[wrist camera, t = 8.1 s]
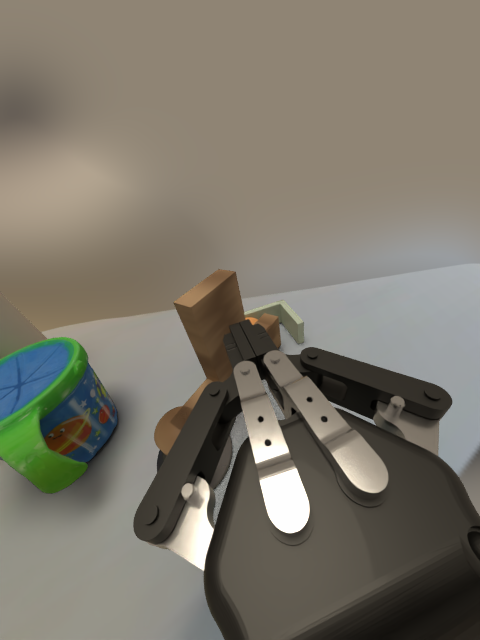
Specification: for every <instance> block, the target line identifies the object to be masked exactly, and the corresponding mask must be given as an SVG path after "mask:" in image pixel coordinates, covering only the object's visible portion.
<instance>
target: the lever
mask: <svg viewBox="0 0 480 640" xmlns="http://www.w3.org/2000/svg"><path fill="white" fill-rule="evenodd" d="M174 305H175V307H176V310H177V312H178V314H179V316H180V319H181V321H182V323H183V325H184V328H185V330H186V332H187V334H188V337H189V339H190V341H191V343H192V346H193V348H194V350H195V352H196V355H197V357H198V359H199V361H200V364H201V366H202V368H203V370H204V373H205V375H206V377H207V379H206V380H205V381H204V382H203V384H202V385H201V386H200V387H199V388H198V389H197V391H196V392H195V393H194V394H193V395H192V396H191V397H190V399H189V400H188V401H187V402H186V403H185V404H184V406H180V407H176V408H174V409H172V410H170V411H168V412H167V413H166V414H165V415H164V416H163V417H162V418H161V419H160V421H159V422H158V424H157V426H156V429H155V433H154V439H155V443H156V445H157V447H158V448H159V449H160V450H161V451H162V452H163V453H164V454H165V455H166V456H167V455H168V453H169V451H170V449H171V448H172V446H173V444H174V442H175V440H176V439H177V437H178V435H179V433H180V431H181V430H182V428H183V426H184V424H185V422H186V421H187V419H188V417H189V415H190V413H191V412H192V410H193V408H194V406H195V404H196V403H197V401H198V399H199V397H200V395H201V394H202V392H203V390H204V388H205V387H206V386H207V385H208V384H210V383H211V382H215V381H219V382H224V381H225V380H227V379H228V378H229V377H230V375H231V374H232V370H233V369H232V366H231V363H230V361H229V358H228V355H227V352H226V349H225V346H224V342H223V338H224V335H225V334H228V333H230V329H229V325H232V324H235V323H239V322H241V321H244V320H246V319H245V314H244V310H243V305H242V300H241V296H240V291H239V286H238V281H237V276H236V272H234V271H227V270H220V269H219V270H217V271H215V272H214V273H213V274H211V275H210V276H209V277H207V278H206V279H205V280H203V281H202V282H200V283H199V284H198V285H196V286H195V287H194V288H192V289H191V290H190V291H188V292H187V293H185V294H184V295H183V296H181V297H180V298H179V299H177V300H176V301H174ZM257 323H258V324H260V325H262V326H263V327H264V328H265V330H266V332H267V333H268V334H269V336H270V338H271V339H272V341H273V342H274V344H275V345H276V347H277V348H279V347H280V345H281V340H280V329H279V318H278V316H274V315H270V314H266V313H264V314H263V315H262V316H261V317H260V318H259V320H258V321H256V322H255V324H257Z"/></svg>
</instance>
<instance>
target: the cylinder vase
mask: <svg viewBox="0 0 480 640" xmlns="http://www.w3.org/2000/svg"><path fill="white" fill-rule="evenodd" d="M43 340H47V338H46V337H45V336H44V335H43V334H42V333H41V332H40V331H39V330H38V329H37V328H36V327H35V326H34V325H33V324H32V323H31V322H30V321H29V320H28V319H27V318H26V317H25V316H24V315H23V314H22V313H21V312H20V311H19V310H18V309H17V308H16V307H15V306H14V305H13V304H12V303H11V302H10V301H9V300H8V299H7V298H6V297H5V296H4V295H3V294H2V293H1V292H0V359H2V358H4V357H6V356H7V355H9V354H11V353H13V352H15V351H17V350H19V349H21V348H24V347H26V346H28V345H31V344H34V343H37V342H40V341H43Z"/></svg>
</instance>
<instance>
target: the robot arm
mask: <svg viewBox="0 0 480 640" xmlns="http://www.w3.org/2000/svg"><path fill="white" fill-rule="evenodd" d="M229 329H230V333H228V334H225V335H224V338H223V342H224V346H225V349H226V352H227V355H228V358H229V361H230V363H231V366H232V369H233V370H232V374H231V375H230V377H229V378H228V379H227V380H225V381H224V382H219V381H215V382H211V383H210V384H208V385H207V386H206V387H205V388H204V390H203V392H202V394H201V395H200V397H199V399H198V401H197V403H196V404H195V406H194V408H193V410H192V412H191V413H190V415H189V417H188V419H187V421H186V422H185V424H184V426H183V428H182V430H181V431H180V433H179V435H178V437H177V439H176V440H175V442H174V444H173V446H172V448H171V449H170V451H169V453H168V455H167V457H166V458H165V460H164V462H163V464H162V466H161V467H160V469H159V471H158V473H157V475H156V476H155V478H154V480H153V482H152V484H151V485H150V487H149V489H148V491H147V493H146V494H145V496H144V498H143V500H142V502H141V503H140V505H139V507H138V509H137V511H136V514H135V517H134V532H135V534H136V536H137V537H138V538H139V539H140V540H143V541H146V542H147V543H149V544H150V545H153V546H156V547H159V548H162V549H169V550H172V551H173V552H175V553H177V554H178V555H180V556H181V557H183V558H185V559H186V560H188V561H189V562H191V563H192V564H194V565H196V566H197V567H199V568H200V569H202V570H204V589H205V595H206V600H207V603H208V607H209V609H210V612H211V614H212V616H213V618H214V620H215V621H216V623H217V625H218V627H219V629H220V631H221V633H222V635H223V637H224V639H225V640H480V516H479V514H478V513H477V511H476V510H475V508H474V506H473V504H472V503H471V500H470V498H469V496H468V494H467V492H466V489H465V487H464V485H463V484H462V482H461V480H460V478H459V477H458V476H457V474H456V473H455V472H454V471H453V469H452V468H451V467H450V466H449V465H448V464H447V463H446V462H444V461H443V460H442V459H441V458H440V457H438V443H439V421H440V420H441V418H442V417H443V416H444V414H445V413H446V412H447V411H448V409H449V408H450V407H451V405H452V399H451V396H450V395H449V394H448V393H447V392H446V391H445V390H444V389H443V388H441V387H439V386H437V385H435V384H432V383H429V382H425V381H422V380H419V379H416V378H412V377H409V376H406V375H403V374H399V373H396V372H393V371H390V370H386V369H383V368H380V367H377V366H373V365H370V364H367V363H364V362H360V361H357V360H354V359H351V358H347V357H344V356H341V355H338V354H334V353H331V352H328V351H325V350H321V349H318V348H314V347H309V348H305V349H304V350H302V352H301V354H300V355H286V354H284V353H283V352H281V351H279V350H278V348H277V347H276V345H275V344H274V342H273V341H272V339H271V338H270V336H269V334H268V333H267V332H266V330H265V328H264V327H263V326H262V325H260V324H258V323H257V324H254V325H252V323H251V322H250V320H249V319H247V320H244V321H241V322H239V323H235V324H232V325H229ZM260 378H261V379H260ZM264 379H266V381H267V383H268V388H269V390H270V392H271V394H272V395H273V397H274V399H275V400H276V402H277V404H278V405H279V407H280V409H281V410H282V412H283V414H284V416H285V419H286V420H278V421H277V418H276V415H275V413H274V410H273V407H272V405H271V402H270V399H269V397H268V394H267V393H266V392H265V389H264V387H263V384H262V381H261V380H264ZM329 401H330V402H333V403H335V404H337V405H340V406H342V407H344V408H347V409H349V410H351V411H354V412H356V413H358V414H361V415H363V416H365V417H368V418H370V419H372V420H374V422H375V424H376V425H374V424H371V423H369V422H367V421H365V420H363V419H361V418H359V417H356V416H354V415H352V414H350V413H348V412H346V411H344V410H341V409H338V408H335V407H333V406H332V405H331V403H330V402H329ZM242 411H243V414H244V418H245V422H246V426H247V430H248V434H249V437H248V438H247V439H246V440H245V441H244V442H243V444H242V445H241V447H240V449H239V451H238V453H237V456H236V459H235V463H234V466H233V469H232V472H231V475H230V479H229V482H228V485H227V488H226V492H225V495H224V498H223V501H222V505H221V508H220V511H219V514H218V518H217V521H216V524H215V525H214V520H213V513H214V508H215V503H216V498H215V493H214V491H213V489H212V488H211V487H210V484H211V481H212V478H213V476H214V473H215V471H216V468H217V466H218V463H219V460H220V458H221V455H222V453H223V450H224V448H225V445H226V443H227V440H228V437H229V435H230V432H231V430H232V427H233V425H234V422H235V419H236V416H237V415H238V414H239V413H240V412H242Z"/></svg>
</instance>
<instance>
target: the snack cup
mask: <svg viewBox="0 0 480 640" xmlns="http://www.w3.org/2000/svg"><path fill="white" fill-rule="evenodd" d="M116 425H117V410H116V407H115V405H114V403H113V401H112V399H111V398H110V396H109V395H108V393H107V391H106V390H105V388H104V386H103V385H102V383H101V382H100V380H99V378H98V377H97V375H96V373H95V372H94V370H93V369H92V368H91V366H90V365H89V363H88V356H87V353H86V351H85V350H84V348H83V347H82V346H81V345H80V344H79V343H78V342H77V341H76V340H74V339H71V338H67V337H59V338H52V339H47V340H43V341H40V342H37V343H34V344H31V345H28V346H26V347H24V348H21V349H19V350H17V351H15V352H13V353H11V354H9V355H7V356H6V357H4V358H2V359H0V460H4V461H5V462H7V463H8V465H10V466H11V467H12V468H13V469H15V470H16V471H17V472H19V473H20V474H21V475H23V476H24V477H26V478H27V479H28V480H29V481H31V482H32V483H33V484H34V485H35V486H36V487H37V488H39V489H40V490H41V491H42V492H44V493H55V492H58V491H60V490H62V489H64V488H66V487H68V486H69V485H71V484H72V483H73V482H74V481H75V480H77V479H78V478H79V477H80V476H81V475H83V473H84V472H85V471H86V470H87V468H88V465H87V464H86V463H85V462H88V461H90V460H91V459H92V458H93V457H94V456H95V455H96V453H97V452H98V450H99V449H100V448H101V447H102V446H103V445H104V444H105V443H106V441H107V440H108V438H109V437H110V436H111V434H112V431H113V429H114V428H115V427H116Z"/></svg>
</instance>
